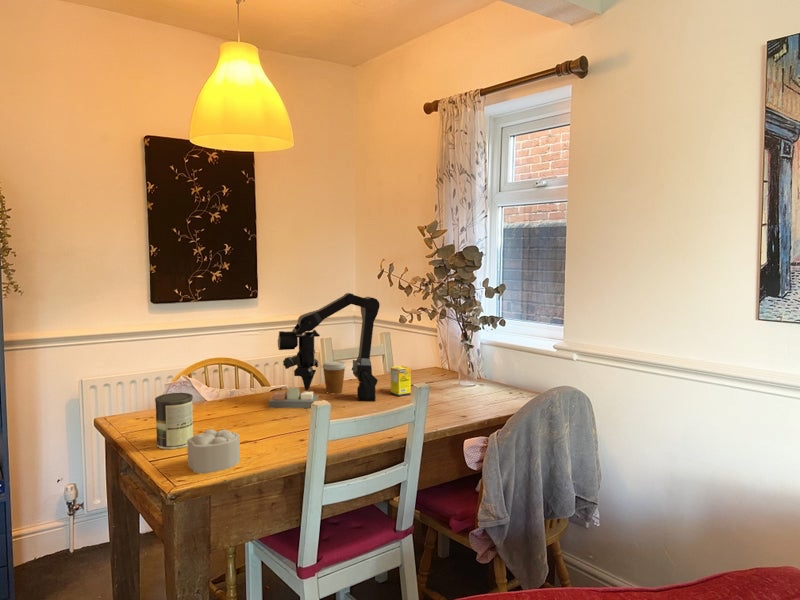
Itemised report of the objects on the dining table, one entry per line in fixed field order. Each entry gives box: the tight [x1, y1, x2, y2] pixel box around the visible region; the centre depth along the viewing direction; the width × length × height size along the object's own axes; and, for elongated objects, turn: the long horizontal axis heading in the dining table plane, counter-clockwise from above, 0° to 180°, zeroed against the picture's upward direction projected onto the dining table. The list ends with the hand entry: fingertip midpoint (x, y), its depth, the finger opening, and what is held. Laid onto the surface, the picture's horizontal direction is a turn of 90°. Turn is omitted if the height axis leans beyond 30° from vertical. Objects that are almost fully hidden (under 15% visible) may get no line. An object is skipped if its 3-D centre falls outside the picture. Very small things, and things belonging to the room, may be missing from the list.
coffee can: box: [154, 392, 194, 450], centre depth 167 cm, size 10×10×14 cm
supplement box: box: [390, 365, 412, 397], centre depth 227 cm, size 6×6×11 cm
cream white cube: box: [300, 391, 314, 400], centre depth 211 cm, size 4×4×4 cm
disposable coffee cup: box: [321, 360, 347, 394], centre depth 230 cm, size 10×10×12 cm
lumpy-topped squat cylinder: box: [186, 428, 241, 475], centre depth 151 cm, size 10×13×9 cm
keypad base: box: [268, 394, 319, 409], centre depth 211 cm, size 16×10×2 cm, turn 90°
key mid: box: [286, 386, 301, 400], centre depth 211 cm, size 4×4×4 cm
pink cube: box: [273, 391, 287, 399], centre depth 211 cm, size 4×4×4 cm
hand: (306, 390), depth 211 cm, fingers closed
